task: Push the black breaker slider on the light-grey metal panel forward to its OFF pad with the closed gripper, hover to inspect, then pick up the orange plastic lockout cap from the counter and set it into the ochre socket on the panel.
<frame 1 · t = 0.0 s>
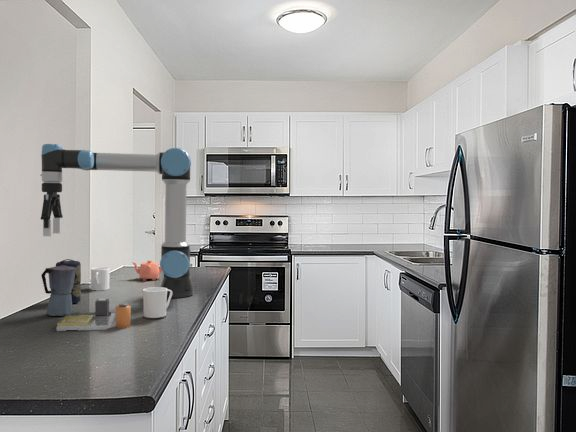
hand: (52, 234, 207), 28 cm above the counter, fingers open, 13 cm apart
mug: (157, 317, 189), on the counter
lockout cap: (123, 326, 175), on the counter
moka pot: (59, 315, 189), on the counter
mug 2: (99, 290, 237), on the counter
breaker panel: (87, 323, 177), on the counter
breaker slider: (102, 307, 182), point 5 cm above the counter, slide at 0.0 cm
teapot: (149, 280, 267), on the counter
canister: (68, 303, 210), on the counter
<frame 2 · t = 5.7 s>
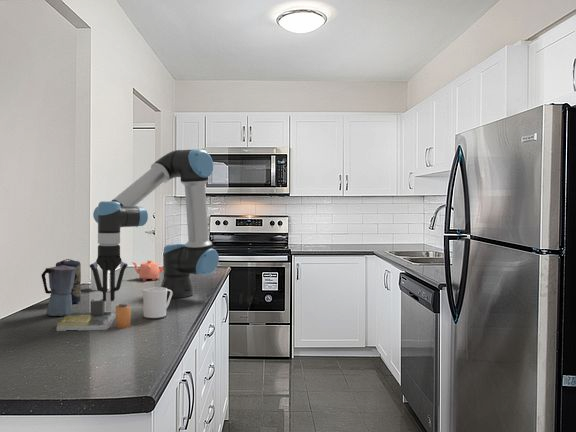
hand: (108, 310, 182), 4 cm above the counter, fingers closed
breaker slider: (97, 307, 182), point 5 cm above the counter, slide at 1.6 cm, touching gripper
everything else where it was.
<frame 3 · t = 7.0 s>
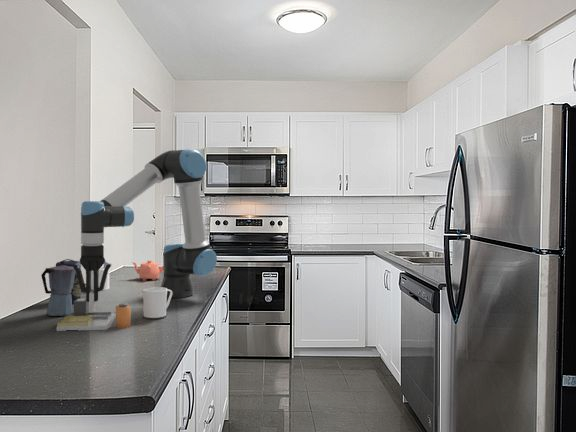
hand: (92, 310, 181), 4 cm above the counter, fingers closed
breaker slider: (81, 307, 181), point 5 cm above the counter, slide at 7.2 cm, touching gripper
everything else where it was.
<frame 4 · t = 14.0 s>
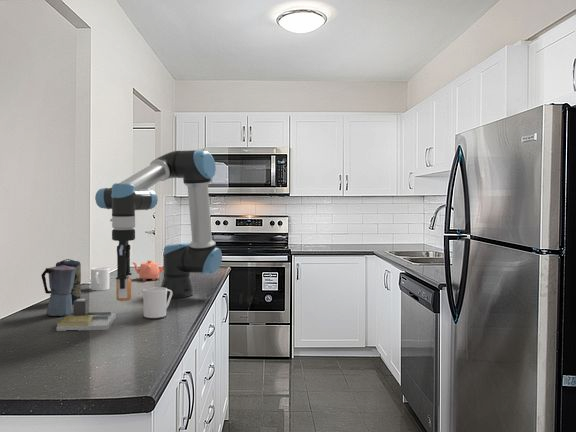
hand: (124, 296, 175), 10 cm above the counter, fingers closed on lockout cap, 5 cm apart
lockout cap: (123, 299, 175), point 9 cm above the counter, touching gripper
breaker slider: (80, 307, 181), point 5 cm above the counter, slide at 7.3 cm
everything else where it was.
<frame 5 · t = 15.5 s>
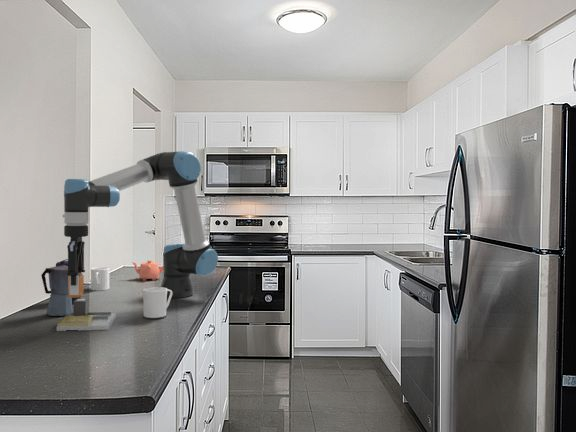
hand: (76, 293, 173), 12 cm above the counter, fingers closed on lockout cap, 5 cm apart
lockout cap: (75, 296, 173), point 10 cm above the counter, touching gripper
everything else where it was.
when the fingers open (3 cm above the counter, at t = 17.2 s): lockout cap stays where it is, resting on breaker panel.
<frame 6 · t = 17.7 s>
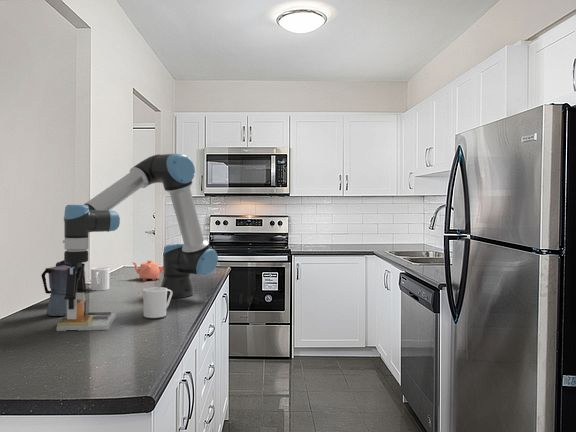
hand: (76, 315, 172), 4 cm above the counter, fingers open, 11 cm apart
lockout cap: (76, 322, 173), point 1 cm above the counter, touching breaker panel
everything else where it was.
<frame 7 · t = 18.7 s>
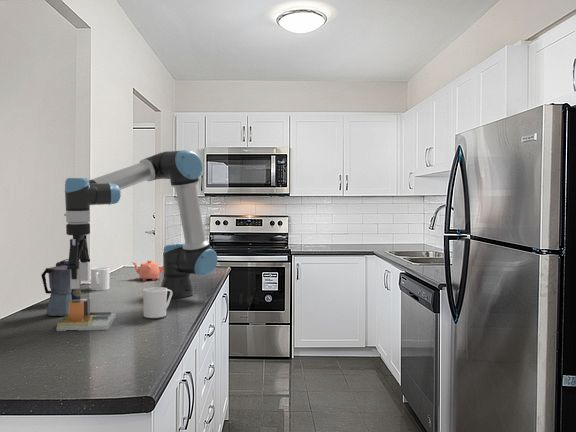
hand: (79, 284, 175), 14 cm above the counter, fingers open, 13 cm apart
breaker slider: (83, 307, 181), point 5 cm above the counter, slide at 6.6 cm
everything else where it was.
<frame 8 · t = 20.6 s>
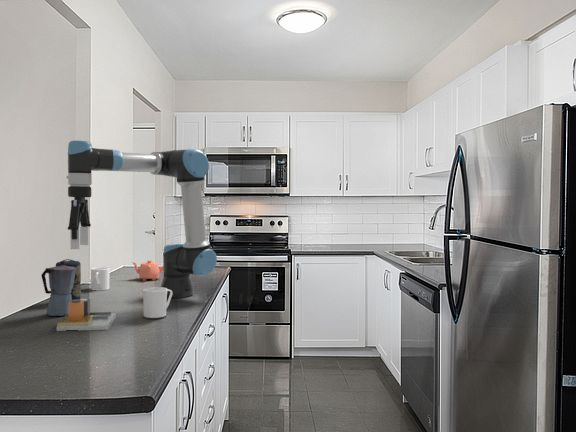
hand: (79, 247, 177), 27 cm above the counter, fingers open, 13 cm apart
nothing on the counter moved.
at the end: breaker slider slide at 6.6 cm; lockout cap inside the target area on the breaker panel (0.0 cm from its centre), point 1.5 cm above the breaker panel's base; lockout cap tilted 0° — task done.
